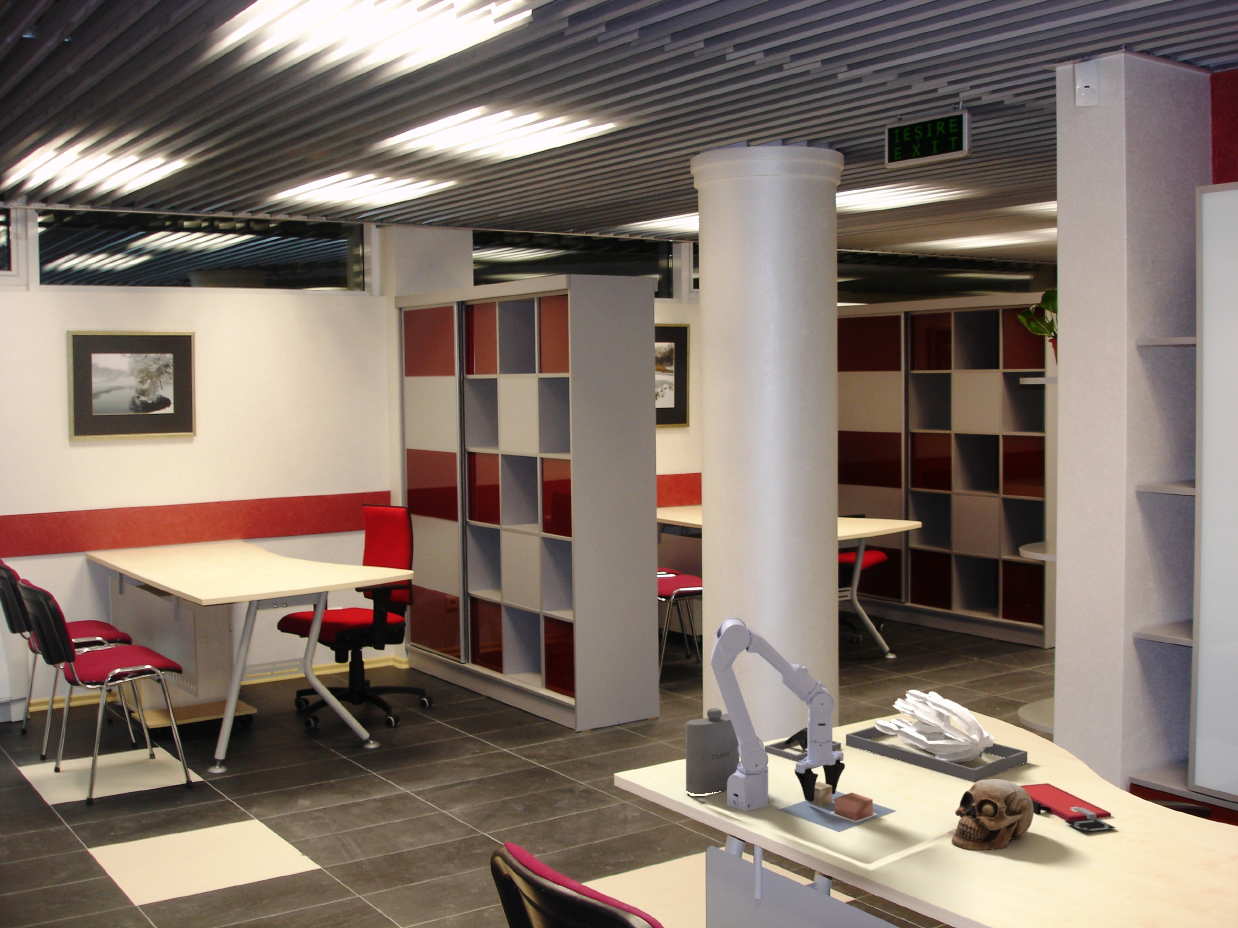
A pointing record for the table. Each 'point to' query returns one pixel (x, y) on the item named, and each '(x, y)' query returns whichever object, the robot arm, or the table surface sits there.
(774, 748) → the frame
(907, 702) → the white sculpture
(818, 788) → the maple cube
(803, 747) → the power plug
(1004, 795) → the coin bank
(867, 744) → the grey tray
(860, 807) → the base block
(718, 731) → the flask
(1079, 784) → the table surface
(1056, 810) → the red board with handle
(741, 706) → the robot arm
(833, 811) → the board
